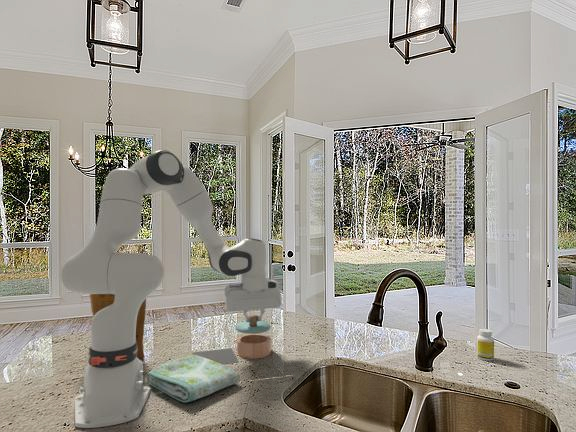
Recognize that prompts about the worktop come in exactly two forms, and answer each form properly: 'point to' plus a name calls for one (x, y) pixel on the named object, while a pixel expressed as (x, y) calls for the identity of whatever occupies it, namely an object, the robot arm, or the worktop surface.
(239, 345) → the bowl
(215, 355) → the mat
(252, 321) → the lid
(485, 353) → the supplement bottle
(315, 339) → the worktop surface
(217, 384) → the towel
